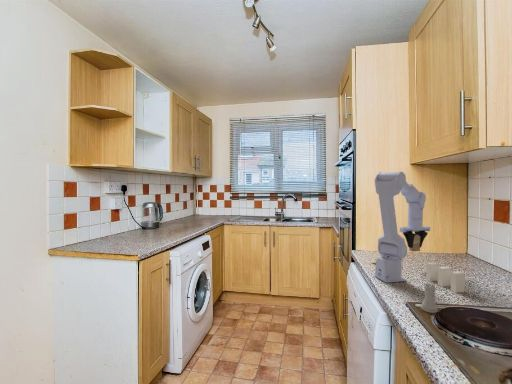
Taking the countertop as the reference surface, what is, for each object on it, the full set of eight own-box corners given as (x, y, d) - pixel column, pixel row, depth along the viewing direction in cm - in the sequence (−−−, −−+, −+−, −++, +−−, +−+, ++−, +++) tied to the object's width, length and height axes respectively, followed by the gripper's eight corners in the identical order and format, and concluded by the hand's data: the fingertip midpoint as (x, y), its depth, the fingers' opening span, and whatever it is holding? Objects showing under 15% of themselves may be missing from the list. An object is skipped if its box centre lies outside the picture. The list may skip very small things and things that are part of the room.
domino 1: (419, 251, 123) (420, 235, 123) (412, 251, 122) (412, 236, 122) (416, 249, 125) (416, 235, 125) (409, 250, 124) (409, 235, 124)
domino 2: (438, 280, 109) (439, 263, 109) (430, 281, 108) (430, 264, 108) (434, 278, 111) (434, 262, 111) (426, 279, 110) (426, 262, 110)
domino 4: (464, 291, 98) (465, 272, 98) (455, 292, 98) (456, 273, 97) (459, 289, 100) (460, 271, 100) (450, 290, 99) (451, 271, 99)
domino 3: (450, 285, 104) (451, 268, 103) (442, 286, 103) (442, 268, 103) (446, 283, 106) (446, 266, 105) (437, 284, 105) (438, 267, 105)
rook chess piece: (441, 312, 83) (442, 287, 83) (429, 314, 82) (430, 288, 82) (429, 306, 87) (430, 281, 87) (417, 307, 86) (418, 283, 86)
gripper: (421, 216, 128) (421, 244, 129) (395, 217, 125) (394, 245, 126) (434, 218, 122) (433, 248, 122) (406, 219, 119) (405, 249, 119)
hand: (414, 247), depth 124 cm, fingers closed on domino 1, 4 cm apart
